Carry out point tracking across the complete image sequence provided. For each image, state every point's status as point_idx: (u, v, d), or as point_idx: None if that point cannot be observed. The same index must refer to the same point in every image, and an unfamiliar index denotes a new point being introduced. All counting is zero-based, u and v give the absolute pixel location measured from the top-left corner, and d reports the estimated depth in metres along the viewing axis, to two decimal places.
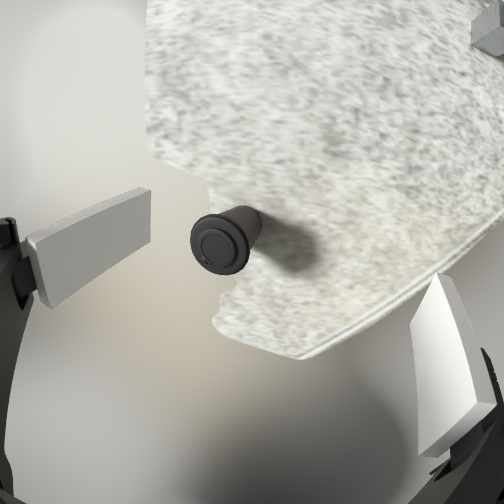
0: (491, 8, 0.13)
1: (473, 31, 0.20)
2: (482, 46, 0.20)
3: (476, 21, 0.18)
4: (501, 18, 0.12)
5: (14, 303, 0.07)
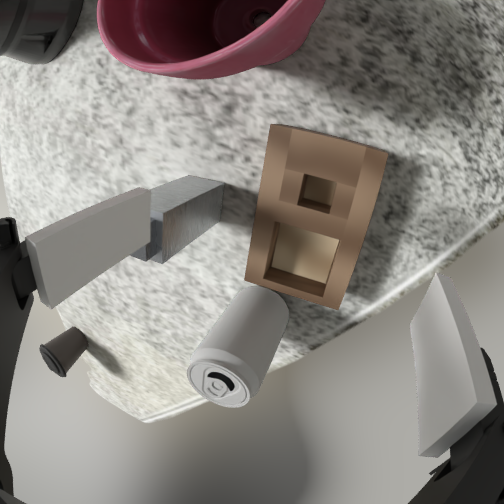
0: None
1: None
2: None
3: None
4: None
5: (14, 303, 0.07)
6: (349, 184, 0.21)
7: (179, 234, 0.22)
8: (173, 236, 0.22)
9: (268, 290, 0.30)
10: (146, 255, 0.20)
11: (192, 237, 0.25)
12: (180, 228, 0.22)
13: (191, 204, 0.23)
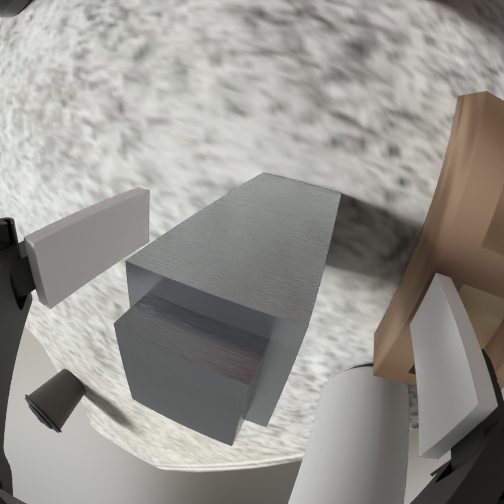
0: None
1: None
2: None
3: None
4: None
5: (13, 303, 0.07)
6: None
7: None
8: None
9: None
10: (234, 436, 0.06)
11: None
12: None
13: None
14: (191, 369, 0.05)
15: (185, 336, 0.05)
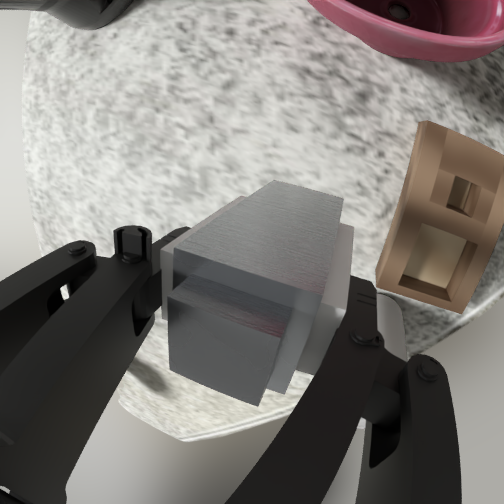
0: None
1: None
2: None
3: None
4: None
5: (129, 330, 0.07)
6: (491, 190, 0.16)
7: None
8: None
9: (387, 297, 0.25)
10: (261, 395, 0.07)
11: None
12: None
13: None
14: (233, 329, 0.06)
15: (227, 304, 0.07)
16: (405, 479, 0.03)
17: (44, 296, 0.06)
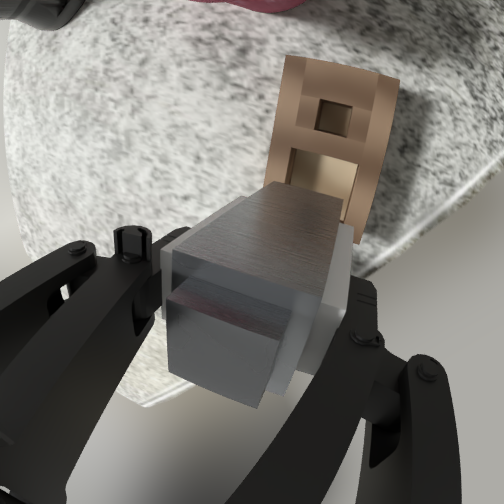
0: None
1: None
2: None
3: None
4: None
5: (129, 330, 0.07)
6: (365, 108, 0.19)
7: None
8: None
9: None
10: (260, 398, 0.07)
11: None
12: None
13: None
14: (232, 332, 0.06)
15: (226, 307, 0.07)
16: (405, 479, 0.03)
17: (44, 295, 0.06)
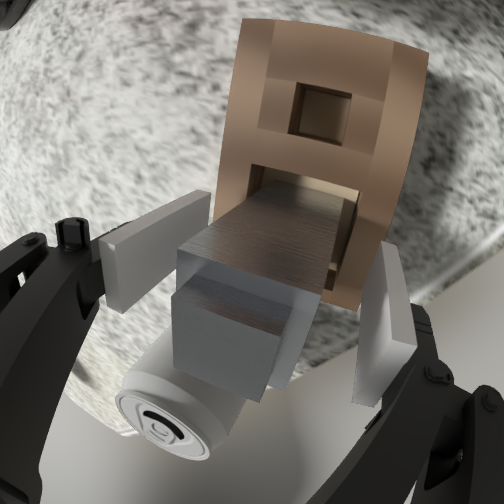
0: None
1: None
2: None
3: None
4: None
5: (76, 313, 0.07)
6: (372, 96, 0.11)
7: None
8: None
9: None
10: (262, 392, 0.08)
11: None
12: None
13: None
14: (235, 328, 0.07)
15: (229, 303, 0.07)
16: (461, 501, 0.03)
17: (6, 282, 0.06)
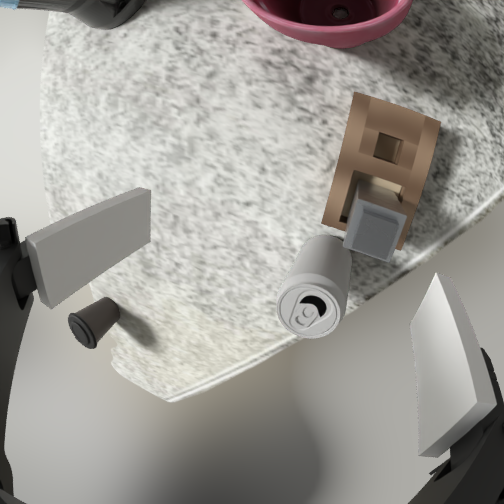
0: (356, 199, 0.23)
1: (353, 198, 0.29)
2: None
3: (356, 188, 0.27)
4: (350, 234, 0.22)
5: (14, 303, 0.07)
6: (413, 142, 0.23)
7: None
8: None
9: (336, 238, 0.32)
10: (388, 254, 0.20)
11: None
12: None
13: None
14: (384, 223, 0.19)
15: (380, 217, 0.20)
16: None
17: None
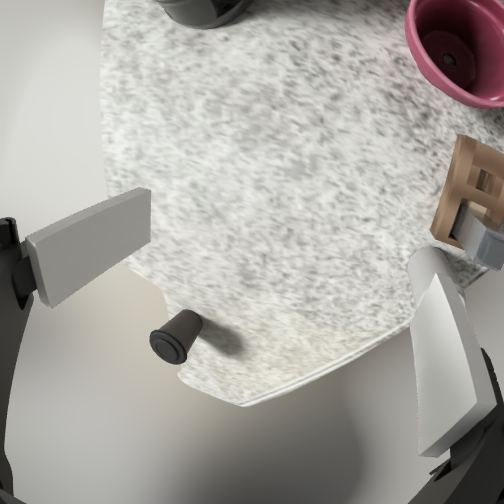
0: (477, 225, 0.25)
1: (456, 218, 0.31)
2: None
3: (462, 212, 0.30)
4: (478, 252, 0.24)
5: (14, 303, 0.07)
6: (501, 178, 0.26)
7: None
8: None
9: (438, 249, 0.35)
10: (501, 266, 0.22)
11: None
12: None
13: None
14: (503, 246, 0.21)
15: (499, 241, 0.22)
16: None
17: None
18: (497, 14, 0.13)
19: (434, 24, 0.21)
